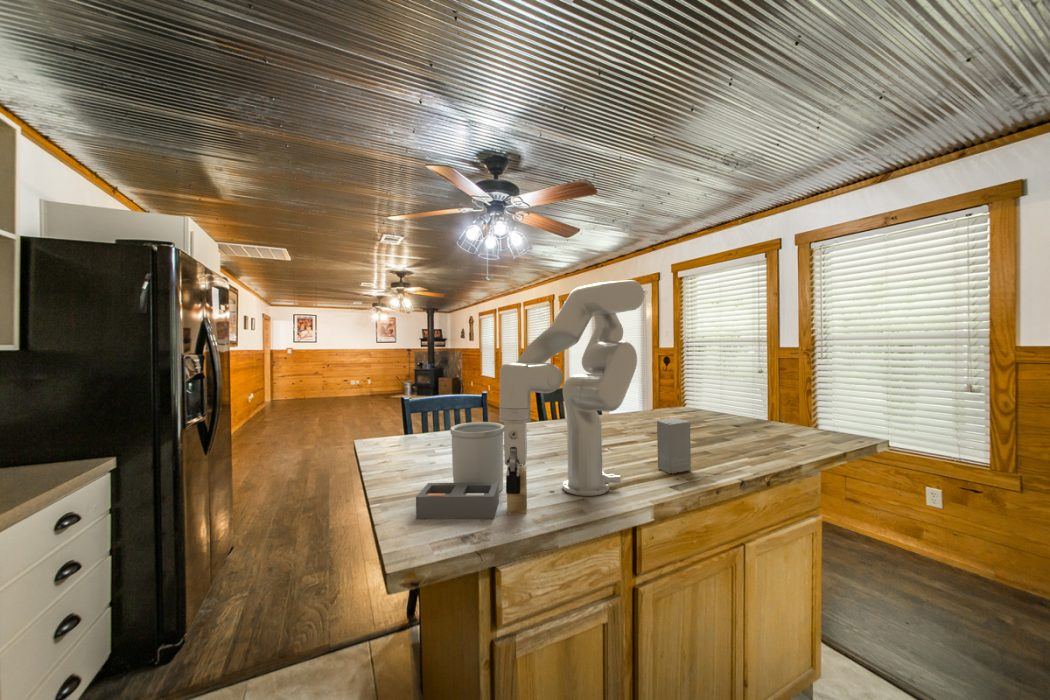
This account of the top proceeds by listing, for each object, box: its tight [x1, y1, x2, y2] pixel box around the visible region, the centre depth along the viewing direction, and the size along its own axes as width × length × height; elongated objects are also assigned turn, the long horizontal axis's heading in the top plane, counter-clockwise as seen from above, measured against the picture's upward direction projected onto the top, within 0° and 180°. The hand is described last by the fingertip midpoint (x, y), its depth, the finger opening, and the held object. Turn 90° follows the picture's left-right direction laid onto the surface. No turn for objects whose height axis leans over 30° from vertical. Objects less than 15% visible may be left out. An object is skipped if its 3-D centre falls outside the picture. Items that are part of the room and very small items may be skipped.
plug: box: [506, 465, 528, 515], centre depth 95 cm, size 4×4×10 cm
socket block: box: [415, 482, 500, 520], centre depth 95 cm, size 18×10×5 cm, turn 88°
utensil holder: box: [449, 421, 504, 493], centre depth 110 cm, size 15×15×18 cm
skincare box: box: [656, 418, 692, 474], centre depth 125 cm, size 8×7×16 cm
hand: (514, 486), depth 94 cm, fingers open, 9 cm apart
